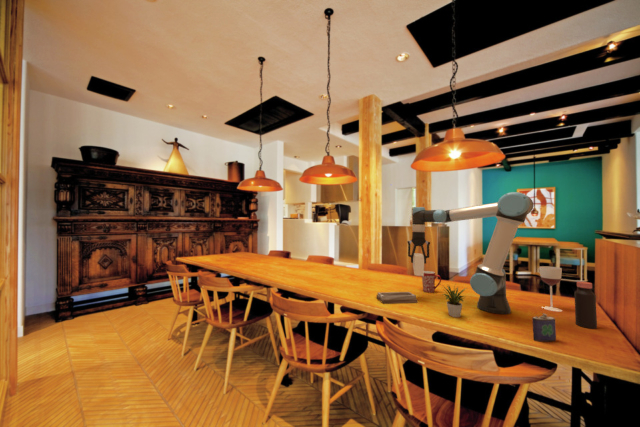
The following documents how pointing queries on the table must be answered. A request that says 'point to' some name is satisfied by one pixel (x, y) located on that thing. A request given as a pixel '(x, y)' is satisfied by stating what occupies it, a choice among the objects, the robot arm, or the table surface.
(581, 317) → the bottle
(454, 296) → the house plant
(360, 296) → the table surface
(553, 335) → the flask
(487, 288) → the robot arm
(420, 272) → the beige rectangular block
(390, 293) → the grey wooden tray
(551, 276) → the wineglass
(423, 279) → the mug
